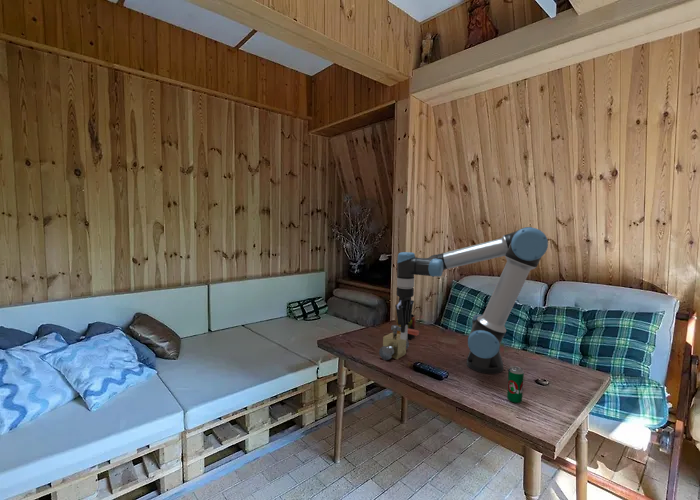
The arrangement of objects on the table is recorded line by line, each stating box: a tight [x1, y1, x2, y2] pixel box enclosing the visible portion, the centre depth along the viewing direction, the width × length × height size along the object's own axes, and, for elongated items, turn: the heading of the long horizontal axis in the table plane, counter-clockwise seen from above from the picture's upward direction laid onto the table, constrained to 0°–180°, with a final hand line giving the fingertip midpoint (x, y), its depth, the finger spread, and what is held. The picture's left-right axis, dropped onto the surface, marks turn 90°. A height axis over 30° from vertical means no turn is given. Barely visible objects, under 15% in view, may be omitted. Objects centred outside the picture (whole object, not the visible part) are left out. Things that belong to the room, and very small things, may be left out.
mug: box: [396, 313, 416, 341], centre depth 191 cm, size 10×14×12 cm
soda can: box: [506, 365, 525, 404], centre depth 123 cm, size 5×5×12 cm
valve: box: [378, 332, 410, 361], centre depth 164 cm, size 17×8×9 cm, turn 142°
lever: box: [390, 324, 420, 337], centre depth 160 cm, size 14×4×5 cm, turn 52°
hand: (403, 338), depth 153 cm, fingers closed
